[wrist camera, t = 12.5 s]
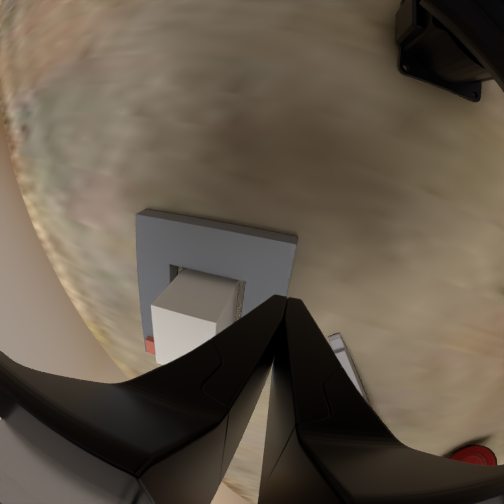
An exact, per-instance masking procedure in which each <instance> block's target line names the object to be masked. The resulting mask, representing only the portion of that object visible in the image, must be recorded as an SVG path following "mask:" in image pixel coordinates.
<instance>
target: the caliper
mask: <svg viewBox="0 0 504 504" xmlns="http://www.w3.org/2000/svg"><path fill="white" fill-rule="evenodd" d="M328 338H329V341H330V344H331V346H332V348H333V351H334V353H335V355H336V356H337V358H338V360H339V361H340V363H341V365H342V367H343V368H344V369H345V371H346V372H347V374H348V376H349V377H350V379H351V380H352V382H353V383H354V385H355V386H356V388H357V389H358V391H359V392H360V393H361V395H362V396H363V397H364V399H365V400H366V401H367V403H368V404H369V402H368V400H367V397H366V394H365V392H364V389H363V387H362V384H361V382H360V379H359V376H358V374H357V371H356V369H355V366H354V364H353V361H352V359H351V356H350V354H349V352H348V350H347V348H346V346H345V344H344V342H343V340H342V337H341V335H340V333H338V334H335V335H332V336H329V337H328Z"/></svg>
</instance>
